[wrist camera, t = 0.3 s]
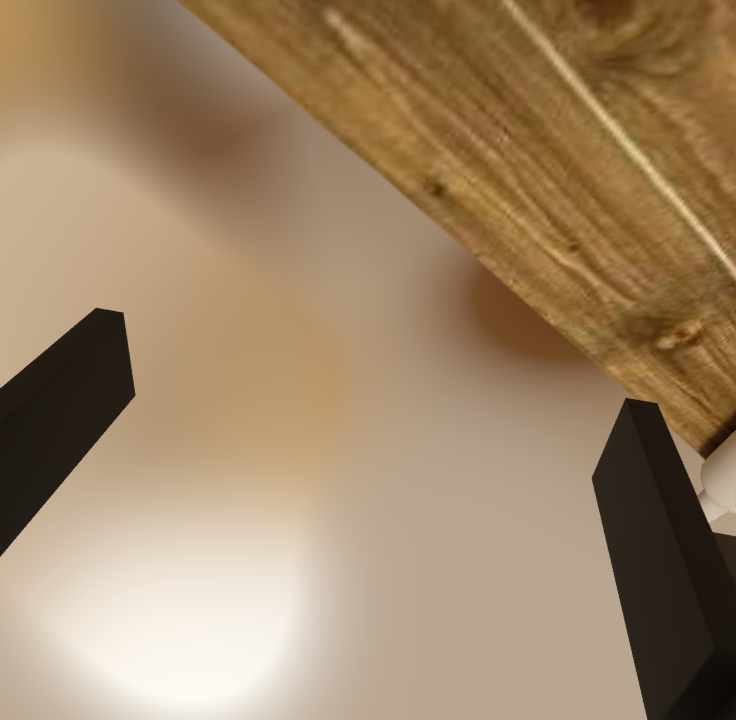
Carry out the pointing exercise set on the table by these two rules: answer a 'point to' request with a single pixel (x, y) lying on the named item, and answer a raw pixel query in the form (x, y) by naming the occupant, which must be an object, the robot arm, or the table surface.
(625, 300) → the table surface
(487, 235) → the table surface
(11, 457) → the robot arm
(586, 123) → the table surface
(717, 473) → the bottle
